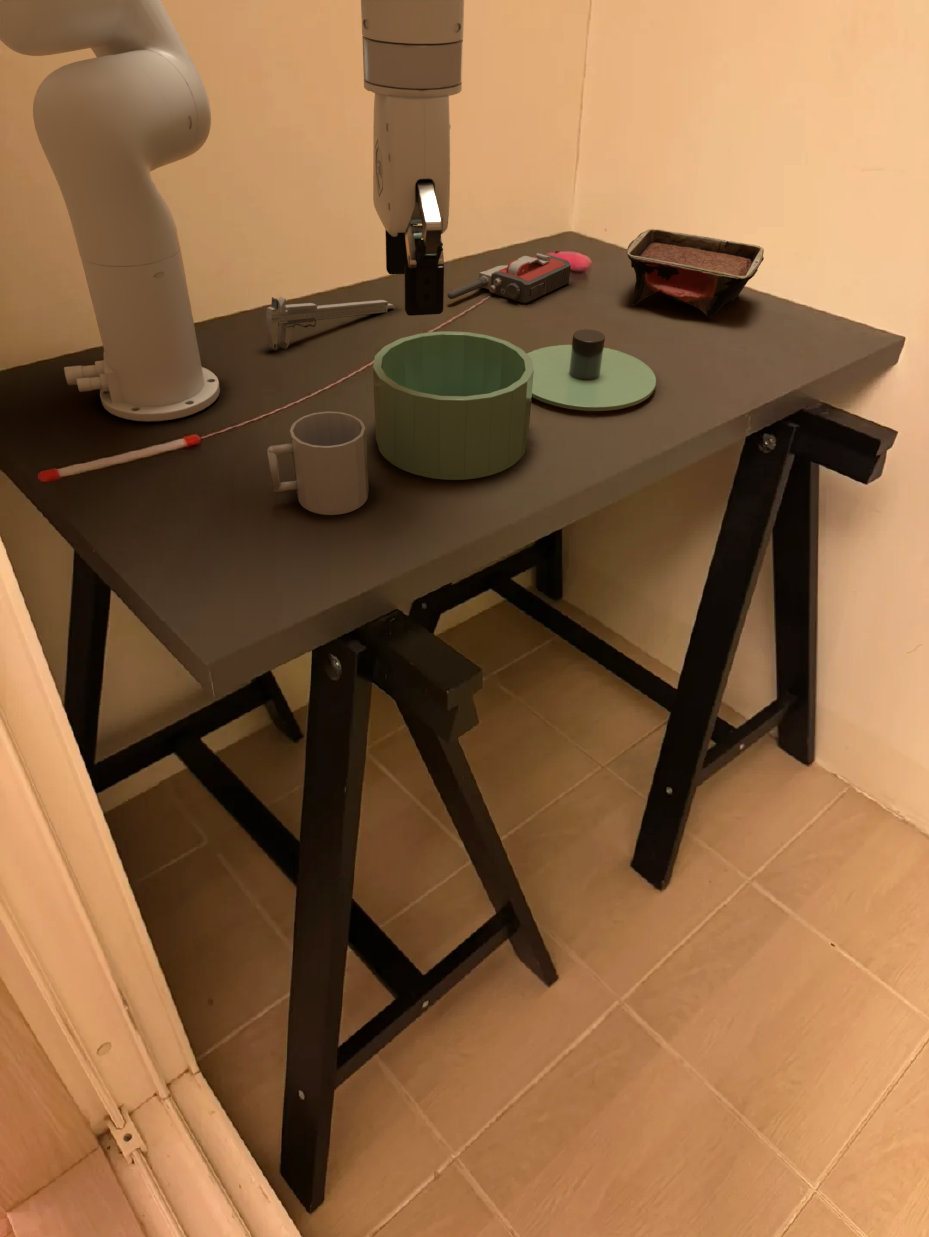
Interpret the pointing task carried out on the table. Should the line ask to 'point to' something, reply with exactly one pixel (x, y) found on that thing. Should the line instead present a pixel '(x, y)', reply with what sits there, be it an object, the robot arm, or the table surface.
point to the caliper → (311, 316)
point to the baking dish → (692, 268)
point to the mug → (325, 462)
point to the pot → (452, 404)
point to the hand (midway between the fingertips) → (413, 292)
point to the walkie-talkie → (521, 278)
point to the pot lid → (589, 375)
